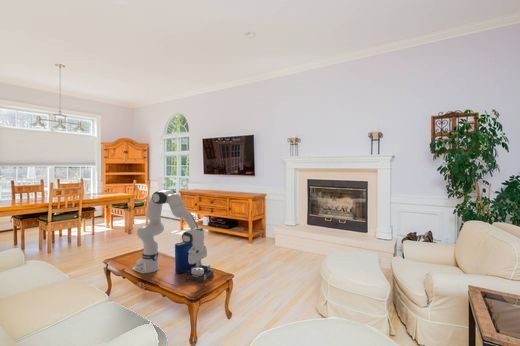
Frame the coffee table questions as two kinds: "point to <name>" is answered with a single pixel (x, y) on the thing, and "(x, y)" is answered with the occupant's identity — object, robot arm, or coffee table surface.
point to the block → (197, 271)
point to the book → (183, 258)
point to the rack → (207, 274)
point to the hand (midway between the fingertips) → (198, 265)
